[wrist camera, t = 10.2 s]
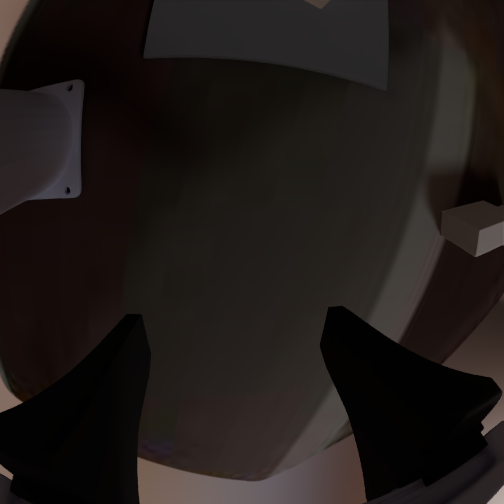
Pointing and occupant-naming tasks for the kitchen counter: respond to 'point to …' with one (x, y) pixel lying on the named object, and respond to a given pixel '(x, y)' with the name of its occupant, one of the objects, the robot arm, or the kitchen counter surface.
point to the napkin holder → (474, 227)
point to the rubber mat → (277, 34)
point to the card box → (318, 3)
